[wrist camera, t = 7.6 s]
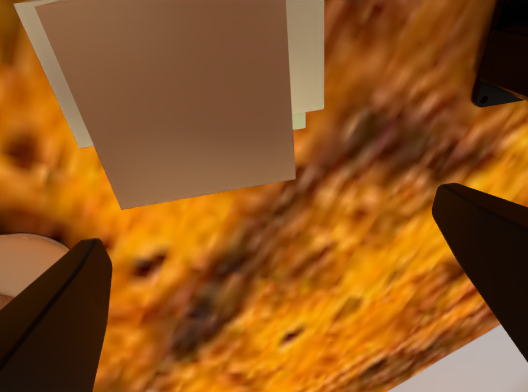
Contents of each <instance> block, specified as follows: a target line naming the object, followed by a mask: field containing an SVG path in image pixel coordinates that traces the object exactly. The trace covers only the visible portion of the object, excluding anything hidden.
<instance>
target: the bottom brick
mask: <svg viewBox="0 0 528 392" xmlns="http://www.w3.org/2000/svg"><path fill="white" fill-rule="evenodd" d="M56 1H60V0H31V1H26V2H21V3H16V4H14V6H15V9H16V11H17V13H18V15H19V17H20V20H21V22H22V24H23V26H24V28H25V31H26V33H27V35H28V37H29V39H30V41H31V44H32V46H33V48H34V50H35V52H36V55H37V57H38V59H39V61H40V63H41V66H42V68H43V70H44V72H45V74H46V76H47V79H48V81H49V83H50V85H51V87H52V90H53V92H54V94H55V96H56V98H57V101H58V103H59V105H60V107H61V109H62V111H63V114H64V116H65V118H66V120H67V122H68V125H69V127H70V129H71V131H72V133H73V136H74V138H75V140H76V142H77V144H78V146H79V148H84V147H90V146H94V145H93V142H92V140H91V138H90V135H89V133H88V131H87V128H86V126H85V124H84V121H83V119H82V117H81V114H80V112H79V110H78V107H77V105H76V103H75V100H74V98H73V96H72V93H71V91H70V89H69V86H68V84H67V82H66V79H65V77H64V75H63V72H62V70H61V68H60V65H59V63H58V61H57V58H56V56H55V54H54V51H53V49H52V47H51V44H50V42H49V40H48V37H47V35H46V33H45V30H44V28H43V26H42V23H41V21H40V19H39V16H38V14H37V12H36V9H35V6H39V5H43V4H47V3H52V2H56ZM286 14H287V32H288V50H289V68H290V86H291V104H292V114H297V113H303V112H309V111H316V110H322V109H324V0H286Z"/></svg>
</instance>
